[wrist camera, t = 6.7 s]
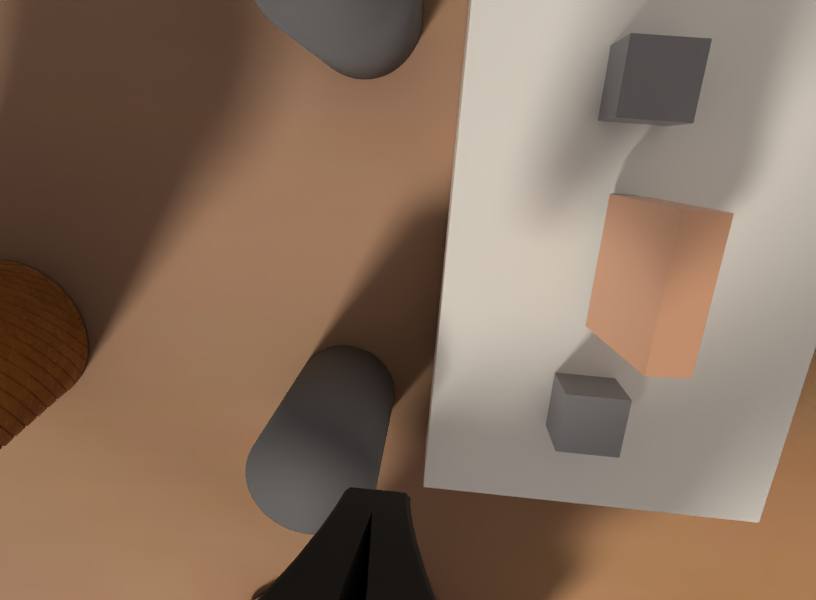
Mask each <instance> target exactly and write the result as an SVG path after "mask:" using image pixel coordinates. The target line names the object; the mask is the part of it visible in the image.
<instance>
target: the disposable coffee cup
mask: <svg viewBox="0 0 816 600" xmlns="http://www.w3.org/2000/svg"><path fill="white" fill-rule="evenodd" d="M87 357H88V341H87V335H86V329H85V326H84V324H83V321H82V318H81V316H80V314H79V312H78V310H77V309H76V307H75V305H74V303H73V302H72V301H71V299H70V298H69V297H68V296H67V295H66V294H65V292H64V291H63V290H62V289H61V288H60V287H59V286H58V285H57V284H55V283H54V282H53V281H52V280H51V279H49V278H48V277H47V276H45V275H44V274H42V273H41V272H39V271H37V270H35V269H33V268H31V267H28V266H26V265H24V264H20V263H17V262H13V261H9V260H0V449H1V448H2V447H1V446H6V445H7V444H8V443H9V442H10V441H11V440H12V439H13V438H14V436H17V435H18V434H19V433H20V432H21V431H22V430H23V429H24V428H25V426H28V425H29V424H30V423H31V422H32V421H33V420H34V419H36V418H37V417H36V416H40V415H41V414H42V413H43V412H44V411H45V410H46V409H47V407H50V406H51V405H52V404H53V403H54V402H55V401H56V398H57V399H59V398H60V397H61V396H62V395H63V394H64V393H66V392H67V391H68V390H69V389H71V388H72V387H73V385H74V384H75V383H76V382H77V381H78V379H79V378H80V376H81V375H82V373H83V371H84V368H85V365H86V361H87Z"/></svg>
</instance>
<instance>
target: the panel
mask: <svg viewBox="0 0 816 600" xmlns="http://www.w3.org/2000/svg"><path fill="white" fill-rule="evenodd" d="M610 193H619V194H630V195H637V196H641V197H652V198H657V199H662V200H668V201H673V202H678V203H683V204H689V205H694V206H699V207H705V208H710V209H715V210H720V211H726V212H731V213H734V215H733V219H732V223H731V227H730V231H729V235H728V239H727V243H726V247H725V251H724V255H723V259H722V262H721V266H720V270H719V274H718V278H717V282H716V286H715V290H714V294H713V298H712V302H711V306H710V310H709V314H708V317H707V321H706V325H705V329H704V333H703V337H702V341H701V345H700V349H699V353H698V357H697V361H696V365H695V368H694V372H693V376H692V379H691V378H667V377H645V376H643V375H642V374H641V373H640V372H639V371H638V370H636V369H635V368H634V367H633V366H632V365H631V364H629V363H628V362H627V361H626V360H625V359H624V358H622V357H621V356H620V355H619V354H618V353H616V352H615V351H614V350H613V349H612V348H611V347H609V346H608V345H607V344H606V343H605V342H604V341H602V340H601V339H600V338H599V337H598V336H597V335H595V334H594V333H593V332H592V331H591V330H589V329H588V328H587V327H586V320H587V315H588V310H589V304H590V299H591V293H592V288H593V282H594V277H595V272H596V266H597V261H598V255H599V250H600V245H601V239H602V234H603V228H604V223H605V217H606V212H607V207H608V201H609V196H610ZM815 347H816V0H469V7H468V17H467V27H466V37H465V48H464V58H463V68H462V78H461V89H460V99H459V109H458V119H457V130H456V140H455V150H454V160H453V171H452V181H451V191H450V201H449V212H448V222H447V232H446V242H445V253H444V263H443V273H442V283H441V294H440V304H439V314H438V324H437V335H436V345H435V355H434V365H433V376H432V386H431V396H430V407H429V417H428V427H427V437H426V451H425V468H424V485H423V487H429V488H438V489H447V490H457V491H466V492H476V493H485V494H494V495H504V496H513V497H523V498H532V499H541V500H551V501H560V502H570V503H579V504H588V505H598V506H607V507H617V508H626V509H635V510H645V511H654V512H663V513H673V514H682V515H692V516H701V517H710V518H720V519H729V520H739V521H748V522H757V523H759V520H760V517H761V514H762V511H763V508H764V505H765V502H766V499H767V496H768V492H769V489H770V486H771V483H772V480H773V477H774V474H775V471H776V468H777V465H778V462H779V458H780V455H781V452H782V449H783V446H784V443H785V440H786V437H787V434H788V431H789V428H790V424H791V421H792V418H793V415H794V412H795V409H796V406H797V403H798V400H799V397H800V393H801V390H802V387H803V384H804V381H805V378H806V375H807V372H808V369H809V366H810V363H811V359H812V356H813V353H814V350H815Z"/></svg>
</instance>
